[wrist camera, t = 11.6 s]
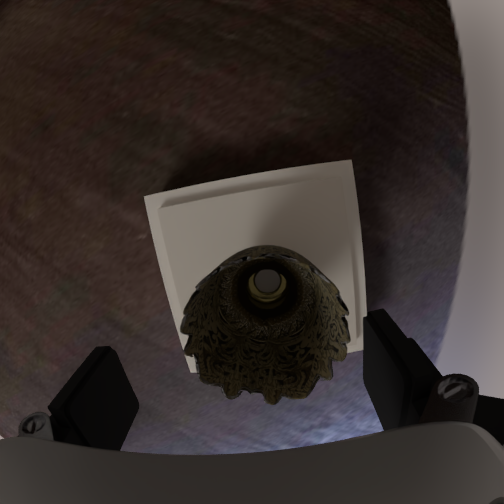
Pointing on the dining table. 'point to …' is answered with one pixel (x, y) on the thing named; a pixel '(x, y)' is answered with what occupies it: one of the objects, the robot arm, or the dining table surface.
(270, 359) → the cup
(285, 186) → the pedestal
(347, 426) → the dining table surface
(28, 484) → the robot arm
